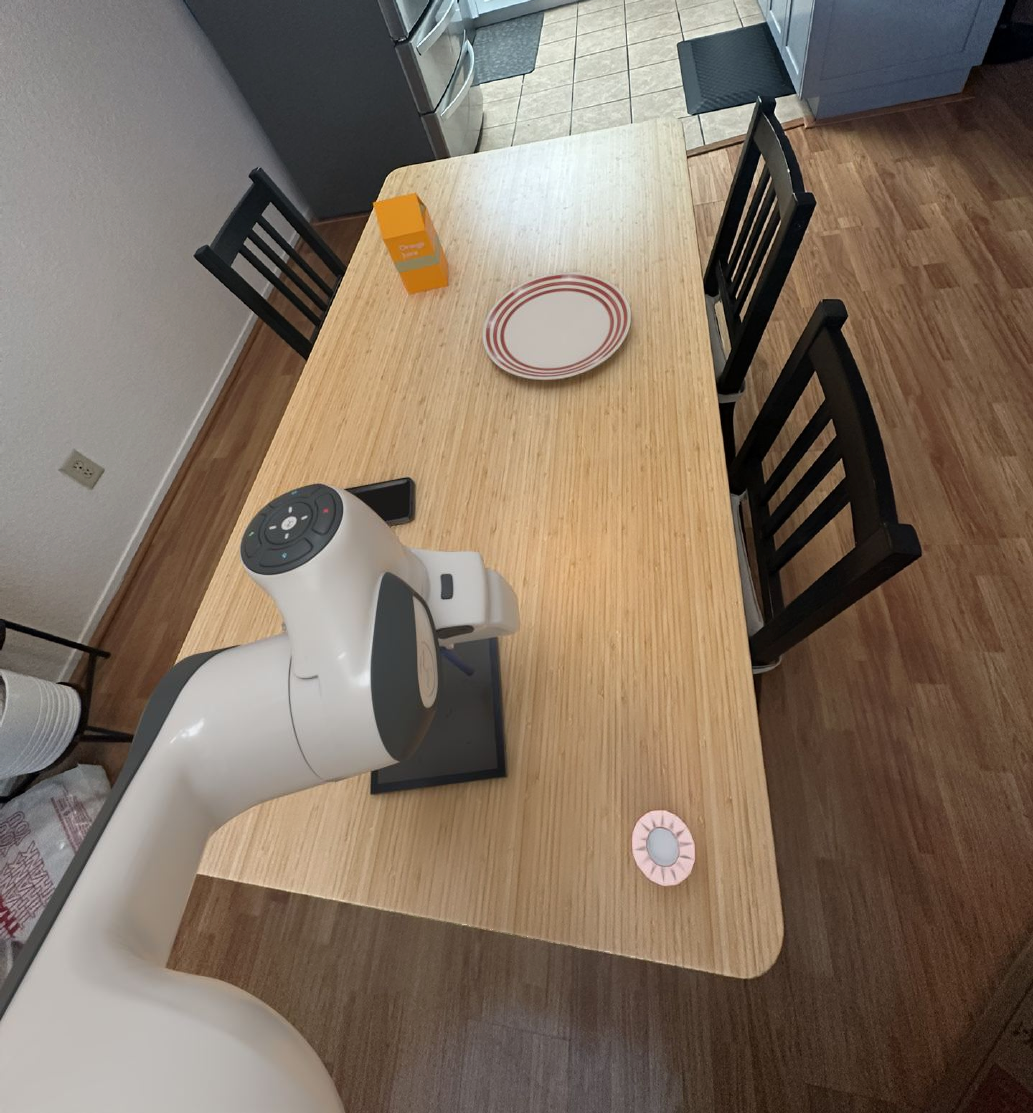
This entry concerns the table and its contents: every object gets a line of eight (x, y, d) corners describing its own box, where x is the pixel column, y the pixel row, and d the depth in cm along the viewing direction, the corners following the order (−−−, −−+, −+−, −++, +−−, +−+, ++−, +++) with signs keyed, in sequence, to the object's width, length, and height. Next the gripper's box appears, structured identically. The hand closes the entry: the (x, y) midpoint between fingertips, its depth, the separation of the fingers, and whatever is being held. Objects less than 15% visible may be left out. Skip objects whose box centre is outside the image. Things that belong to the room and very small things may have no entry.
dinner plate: (472, 309, 117) (468, 297, 114) (601, 265, 117) (600, 252, 114) (505, 411, 101) (500, 399, 98) (655, 360, 100) (655, 347, 98)
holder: (696, 874, 61) (703, 882, 50) (642, 879, 61) (637, 889, 51) (682, 810, 64) (686, 805, 54) (631, 816, 65) (624, 813, 54)
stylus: (475, 676, 71) (428, 637, 57) (467, 677, 72) (417, 639, 57) (475, 666, 72) (428, 626, 58) (466, 667, 72) (417, 627, 58)
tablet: (508, 777, 69) (506, 776, 68) (373, 795, 71) (369, 794, 70) (494, 583, 83) (492, 580, 82) (381, 602, 85) (378, 599, 84)
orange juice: (410, 271, 128) (373, 191, 112) (448, 262, 127) (417, 180, 111) (408, 295, 124) (370, 215, 108) (448, 286, 123) (415, 204, 107)
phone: (327, 492, 97) (412, 475, 95) (330, 495, 98) (415, 479, 96) (322, 535, 92) (412, 518, 91) (325, 538, 93) (414, 522, 92)
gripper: (265, 658, 49) (339, 690, 60) (502, 620, 46) (533, 660, 58) (276, 585, 52) (344, 628, 63) (496, 547, 50) (526, 598, 61)
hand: (435, 643), depth 60 cm, fingers closed on stylus, 1 cm apart
